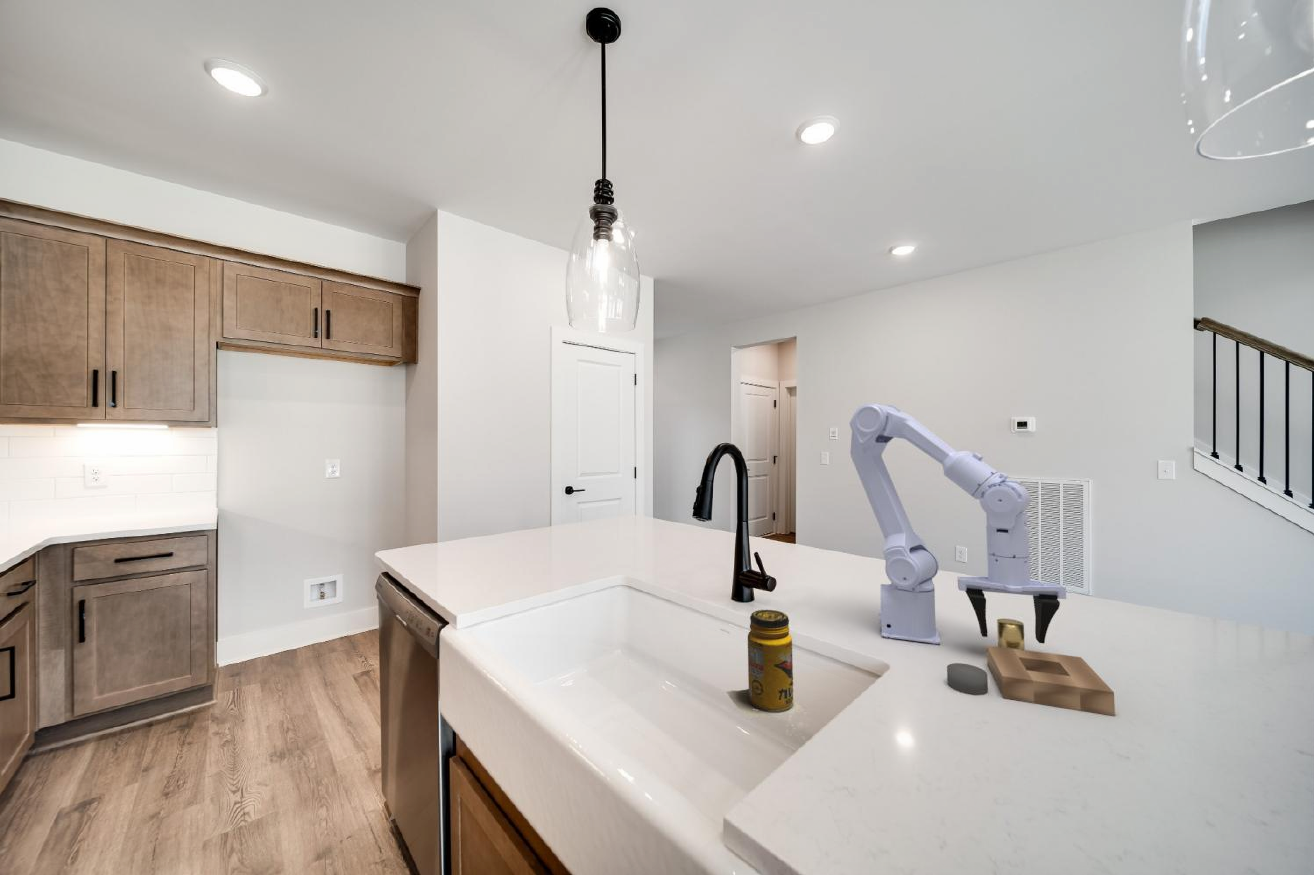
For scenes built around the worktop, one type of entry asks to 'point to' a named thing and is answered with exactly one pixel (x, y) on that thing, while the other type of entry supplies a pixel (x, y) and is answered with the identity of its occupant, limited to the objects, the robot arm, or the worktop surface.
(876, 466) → the robot arm
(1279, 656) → the worktop surface
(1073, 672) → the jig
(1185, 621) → the worktop surface
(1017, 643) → the brass cylinder plug
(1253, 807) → the worktop surface
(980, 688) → the flat gray river rock
